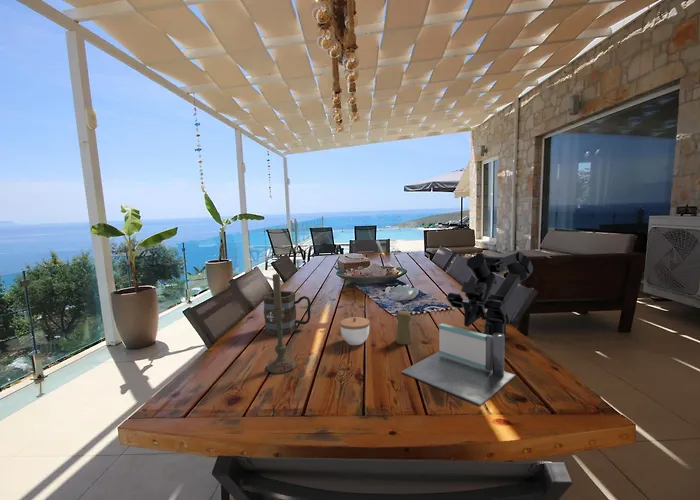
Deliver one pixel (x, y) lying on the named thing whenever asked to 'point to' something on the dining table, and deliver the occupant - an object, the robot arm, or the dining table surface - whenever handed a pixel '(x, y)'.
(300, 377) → the dining table surface
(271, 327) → the mug
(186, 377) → the dining table surface
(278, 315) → the candlestick holder
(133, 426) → the dining table surface
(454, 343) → the gate
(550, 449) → the dining table surface
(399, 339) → the olive green shaker
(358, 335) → the lidded jar
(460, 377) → the gate post
